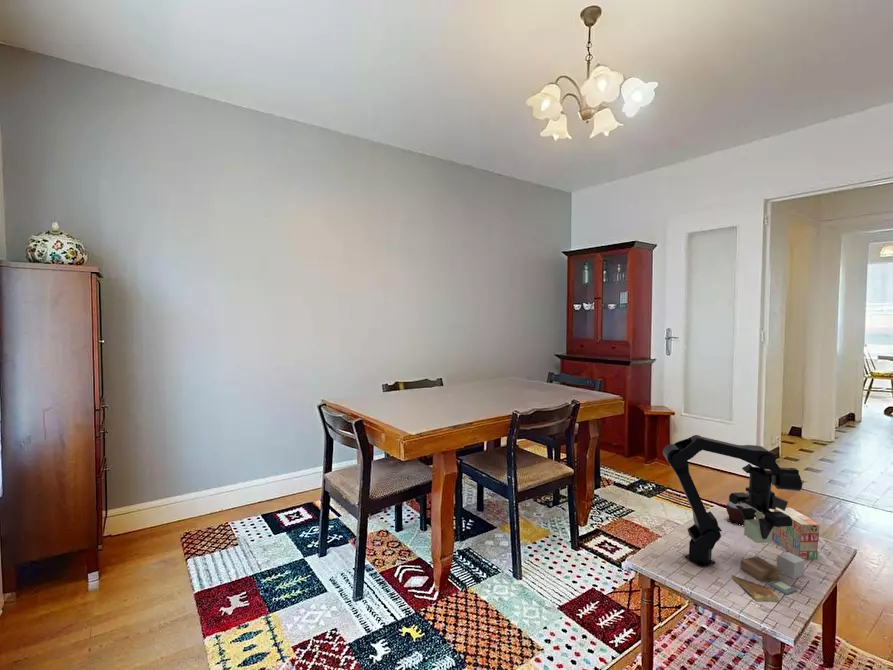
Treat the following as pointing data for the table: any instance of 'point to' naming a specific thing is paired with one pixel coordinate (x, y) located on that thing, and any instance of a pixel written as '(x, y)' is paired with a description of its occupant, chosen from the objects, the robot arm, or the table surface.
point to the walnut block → (759, 569)
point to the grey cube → (790, 564)
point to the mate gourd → (734, 513)
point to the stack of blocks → (796, 534)
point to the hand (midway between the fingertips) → (757, 534)
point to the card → (782, 587)
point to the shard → (756, 590)
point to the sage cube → (755, 531)
